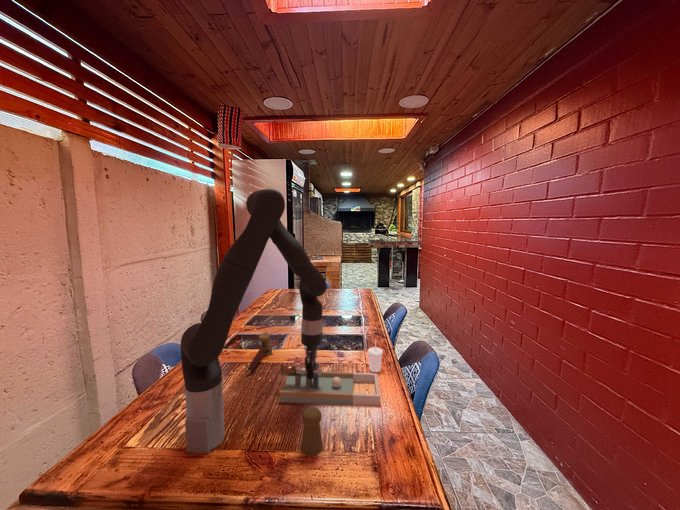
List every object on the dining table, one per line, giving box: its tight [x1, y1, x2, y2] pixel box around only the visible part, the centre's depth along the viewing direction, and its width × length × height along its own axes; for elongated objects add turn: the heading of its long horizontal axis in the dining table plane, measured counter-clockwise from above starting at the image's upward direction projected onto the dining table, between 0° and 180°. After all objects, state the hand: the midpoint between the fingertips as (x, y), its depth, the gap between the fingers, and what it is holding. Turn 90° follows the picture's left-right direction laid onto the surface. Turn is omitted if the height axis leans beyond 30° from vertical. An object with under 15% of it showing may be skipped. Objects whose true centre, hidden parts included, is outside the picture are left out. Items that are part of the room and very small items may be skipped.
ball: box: [332, 377, 341, 387], centre depth 99 cm, size 4×4×4 cm
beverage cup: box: [367, 338, 384, 373], centre depth 113 cm, size 6×6×14 cm
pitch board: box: [278, 370, 381, 406], centre depth 99 cm, size 14×34×7 cm, turn 87°
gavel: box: [246, 332, 273, 376], centre depth 119 cm, size 21×5×10 cm, turn 172°
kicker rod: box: [280, 362, 323, 387], centre depth 99 cm, size 3×14×8 cm, turn 87°
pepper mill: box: [300, 406, 324, 457], centre depth 74 cm, size 6×6×11 cm
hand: (310, 375), depth 99 cm, fingers open, 3 cm apart
